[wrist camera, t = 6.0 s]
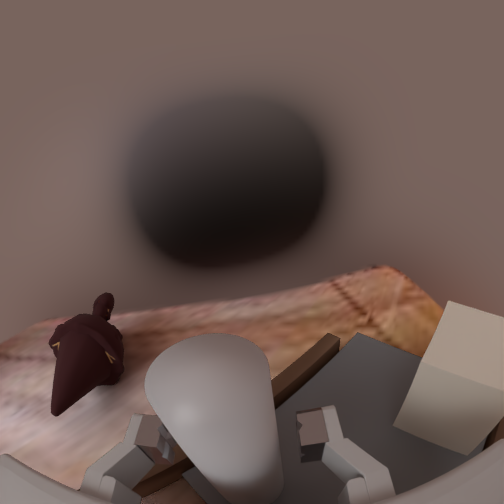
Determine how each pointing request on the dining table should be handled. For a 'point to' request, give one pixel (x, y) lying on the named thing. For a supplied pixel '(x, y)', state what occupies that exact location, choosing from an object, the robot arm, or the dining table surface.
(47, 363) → the dining table surface
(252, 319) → the dining table surface
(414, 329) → the dining table surface
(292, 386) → the rails
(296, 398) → the board
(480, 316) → the block
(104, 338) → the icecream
